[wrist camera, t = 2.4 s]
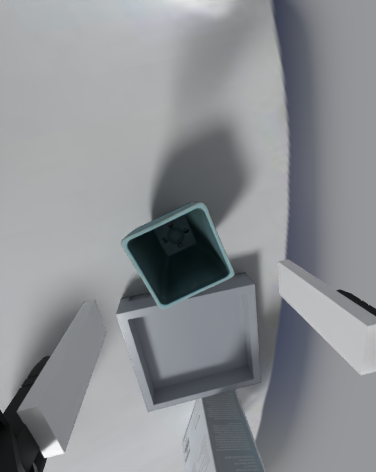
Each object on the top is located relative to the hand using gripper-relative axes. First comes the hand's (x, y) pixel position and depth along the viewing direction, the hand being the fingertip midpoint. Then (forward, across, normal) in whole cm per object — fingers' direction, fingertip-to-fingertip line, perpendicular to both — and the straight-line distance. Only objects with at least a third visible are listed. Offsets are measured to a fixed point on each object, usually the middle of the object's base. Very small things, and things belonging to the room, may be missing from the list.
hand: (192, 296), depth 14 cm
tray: (+15, 0, -18) cm, 23 cm away
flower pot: (+15, 0, 0) cm, 15 cm away
